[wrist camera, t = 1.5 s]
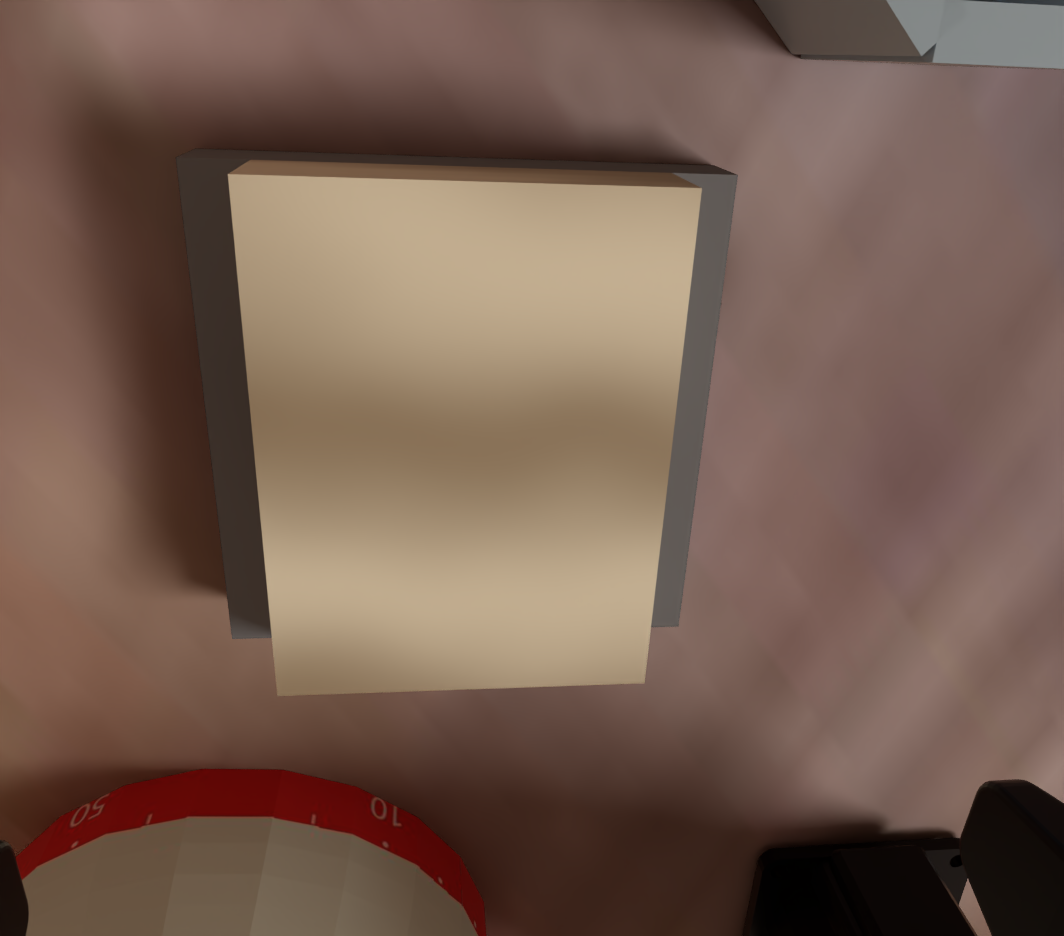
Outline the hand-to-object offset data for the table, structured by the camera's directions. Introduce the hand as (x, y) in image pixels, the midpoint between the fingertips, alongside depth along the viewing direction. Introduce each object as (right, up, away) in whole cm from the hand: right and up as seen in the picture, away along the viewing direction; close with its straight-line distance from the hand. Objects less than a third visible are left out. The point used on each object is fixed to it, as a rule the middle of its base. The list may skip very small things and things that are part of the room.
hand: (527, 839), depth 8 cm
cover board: (-1, +4, +10) cm, 11 cm away
